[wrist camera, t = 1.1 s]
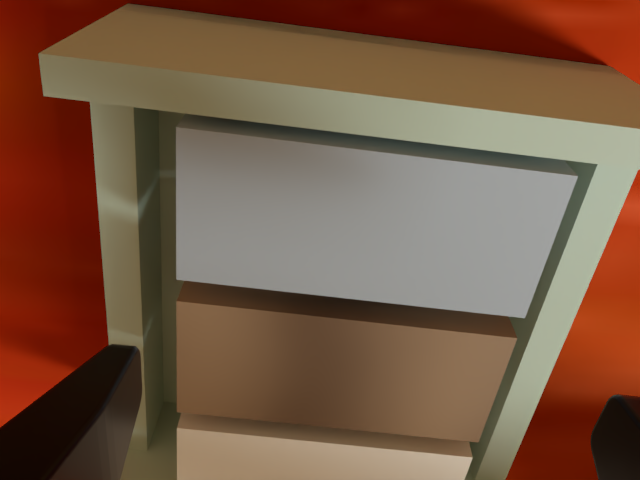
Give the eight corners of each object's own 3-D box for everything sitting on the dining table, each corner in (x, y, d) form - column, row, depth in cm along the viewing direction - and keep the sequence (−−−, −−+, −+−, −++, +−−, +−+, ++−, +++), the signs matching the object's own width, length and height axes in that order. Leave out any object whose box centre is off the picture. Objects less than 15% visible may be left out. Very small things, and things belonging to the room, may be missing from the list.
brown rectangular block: (494, 282, 16) (517, 338, 14) (462, 381, 18) (478, 442, 16) (196, 248, 16) (176, 301, 14) (194, 352, 17) (176, 412, 15)
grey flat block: (543, 135, 14) (578, 176, 12) (501, 263, 16) (525, 318, 14) (199, 92, 13) (175, 127, 12) (196, 229, 15) (176, 279, 13)
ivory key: (457, 395, 18) (472, 457, 16) (431, 472, 20) (442, 537, 18) (194, 367, 18) (176, 428, 16) (193, 449, 20) (177, 512, 18)
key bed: (610, 66, 16) (724, 139, 11) (477, 428, 23) (513, 565, 19) (128, 3, 16) (38, 53, 11) (144, 394, 23) (94, 527, 18)
